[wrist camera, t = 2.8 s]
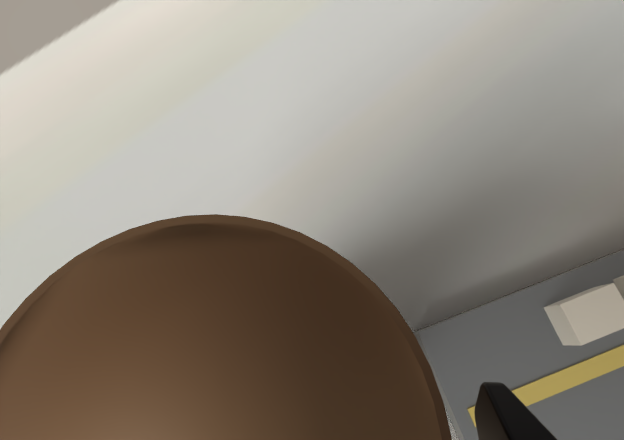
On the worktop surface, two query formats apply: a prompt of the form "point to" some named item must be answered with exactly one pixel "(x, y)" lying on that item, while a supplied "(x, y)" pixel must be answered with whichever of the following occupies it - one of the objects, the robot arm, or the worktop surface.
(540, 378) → the panel
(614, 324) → the set of cream blocks
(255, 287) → the mill
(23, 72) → the worktop surface
